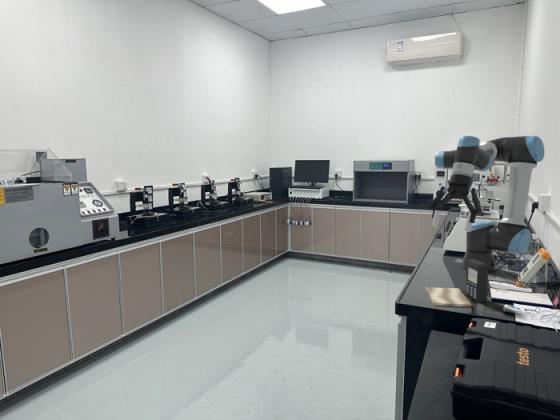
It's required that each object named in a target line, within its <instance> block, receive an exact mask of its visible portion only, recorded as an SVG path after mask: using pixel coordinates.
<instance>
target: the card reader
mask: <svg viewBox="0 0 560 420" xmlns="http://www.w3.org/2000/svg"><path fill="white" fill-rule="evenodd" d="M465 279H466V281H465V283H466V284H465V294H466V296H468V297H469V298H471V299H472V300H474V301H476V302H477V303H486V302H487V301H488V288H489V287H488V285H489V282H488V281H489V272H488V265H487V264H485V263H482V262H480V261H478V260H476V259H469V260H468V261H467V269H466V277H465Z"/></svg>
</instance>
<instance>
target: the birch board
mask: <svg viewBox="0 0 560 420" xmlns="http://www.w3.org/2000/svg"><path fill="white" fill-rule="evenodd" d="M425 291H426V293H427V295H428V297H429V299H430V300H431V302H432V305H433V306H435V307H436V306H437V307H459V308H460V307H462V308H472V303H471V301H469V300H468V297H466V295H464V293H463V292H462V291H461V289H460V288H459V287H457V288H453V287H430V286H429V287H428V286H427V287H425Z"/></svg>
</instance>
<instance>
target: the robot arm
mask: <svg viewBox="0 0 560 420" xmlns="http://www.w3.org/2000/svg"><path fill="white" fill-rule="evenodd" d="M480 142H481V141H480V138H479V137H477V136H474V135H464V136H461V137H459V138H458V141H457V145H456V149H454V150H443V151H438V152H437V153H436V154H435V156H434V164H435V166H436V168H438V169H444V170H447V169H451V175H450V179H449V185H448V187H445V186H443V185H442V186H441V187H440V189H439V192H438V193H437V195H436V196H435V197H434V199H433V200H432V201H431V203H430V205H429V207H428V208H430V209H432V215H431V218H432V223H431V227H434V228H438V225H439V220H440V219H439V218H440V216H441V215H440V214H441V211H440V210H441V209H442V208H443V207H444V206H445V205H447V204H448V203H449V202H450V201H452V200H453V199H454V200H459V201H460V200H461V201H463V202H464V204H465V206H466V207H467V209H468V211H469V212H470V213H468V214H467V218H466V223H465V227H464V231H465V232H466V241H465V242H466V243H465V244H466V247H465V254H464V256H463V259H462V260H461V268H463V269H465V270H467V261H468V260H469V259H476V260H478V261H480V262H482V263H485V264H487V265H488V273H491V272H495V271H496V270H497V264H496V261H495V257H494V254H493V253H494V251H497V252H502V253H503V252H504V253H509V254H516V255H517V254H518V255H520V254H523V253H524V252H525V251H526V250H527V249H528V247H530V246H529V245H530V243H531V239H532V232H531V230H529V229H528V224H526V223H525V217H526V210H527V205H528V197H529V192H530V191H529V190H530V185H531V179H532V172H533V170H534V169H535V168H537V165H538V163H541V162H542V161H543V160H544V157H545V146H544V142H543V140H542V138H540V137H539V136H538V135H537V136H536V135H524V136H523V135H522V136H510V137H509V136H507V137H499V138H495V139H491V140H487V141H484V142H481V143H480ZM494 162H499V163H500V162H501V163H504V162H505V163H507V166H508V167H509V176H508V181H507V187H506V193H505V200H504V205H503V206H504V207H503V212H502V218H501V219H499V221H498V222H497V225H495V222H494V221H476V217H477V215H482V214H483V210H482V206H481V202H480V200H479V199H480V198H479V196H478V195H479V193H478V192H479V191H478V190H479V189H477V188H475V187H472V188H470V187H471V185H472V180H473V179H472V177H473V176H474V171H475V170H476V171H479V172H487V171H488V170H489V169H491V168H492V167H493V165H494ZM469 194H470V196H471V199H472V202H473V204H472V202H471V200H470V198H469V196H468V195H469Z"/></svg>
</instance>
